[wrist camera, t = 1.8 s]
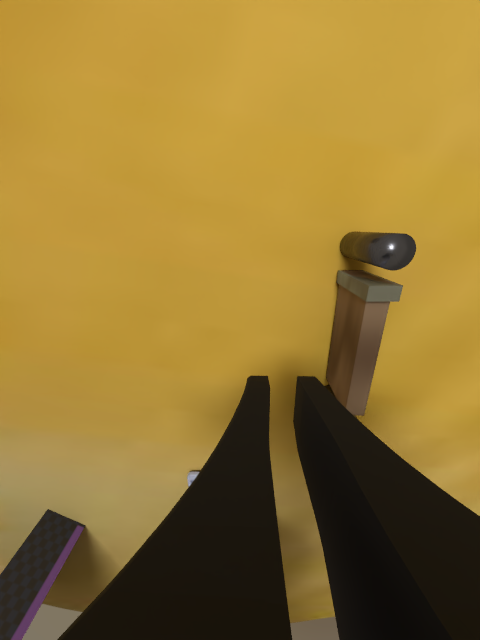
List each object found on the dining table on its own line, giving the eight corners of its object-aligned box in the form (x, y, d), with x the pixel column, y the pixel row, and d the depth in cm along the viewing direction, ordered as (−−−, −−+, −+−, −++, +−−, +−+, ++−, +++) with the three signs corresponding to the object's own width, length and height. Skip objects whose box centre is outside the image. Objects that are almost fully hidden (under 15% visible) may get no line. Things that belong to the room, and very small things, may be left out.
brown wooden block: (344, 377, 19) (370, 420, 14) (323, 377, 19) (343, 419, 15) (362, 270, 15) (402, 285, 11) (337, 270, 16) (369, 286, 11)
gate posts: (340, 404, 20) (374, 473, 14) (316, 403, 20) (341, 472, 14) (370, 231, 15) (442, 233, 9) (338, 231, 15) (390, 234, 9)
